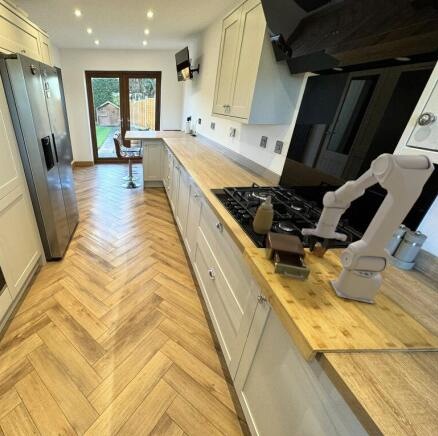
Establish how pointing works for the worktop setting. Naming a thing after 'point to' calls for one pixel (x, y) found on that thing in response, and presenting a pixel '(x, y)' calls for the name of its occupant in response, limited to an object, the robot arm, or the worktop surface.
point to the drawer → (290, 265)
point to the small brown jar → (319, 250)
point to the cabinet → (283, 244)
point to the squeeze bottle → (264, 217)
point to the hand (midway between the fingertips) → (316, 252)
